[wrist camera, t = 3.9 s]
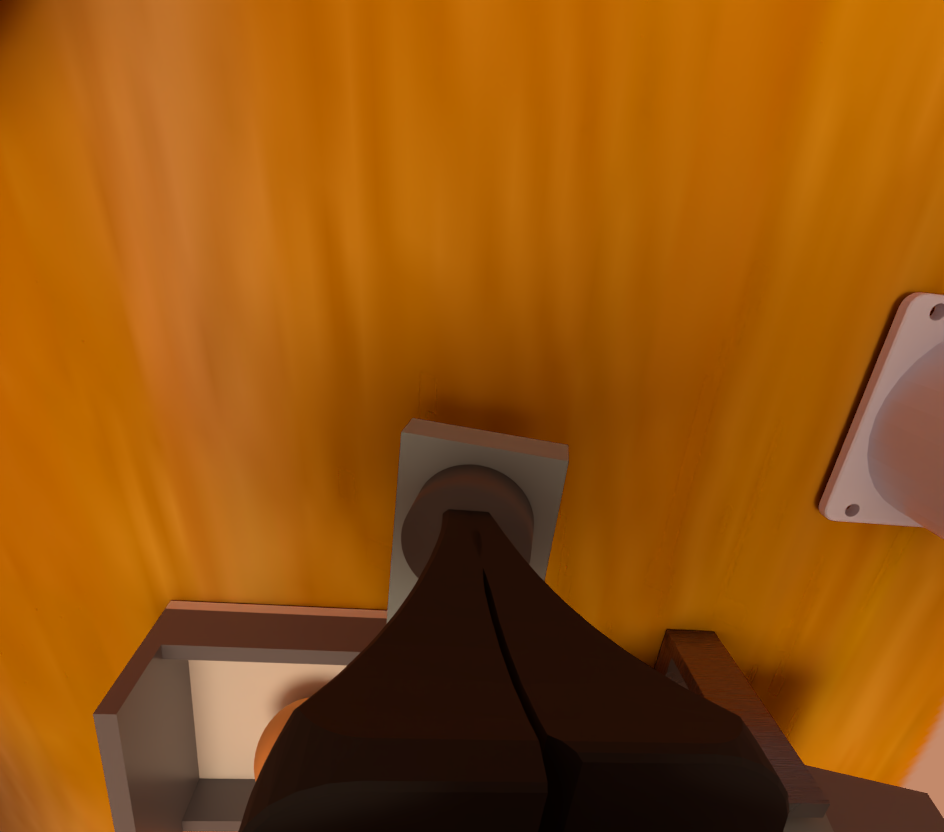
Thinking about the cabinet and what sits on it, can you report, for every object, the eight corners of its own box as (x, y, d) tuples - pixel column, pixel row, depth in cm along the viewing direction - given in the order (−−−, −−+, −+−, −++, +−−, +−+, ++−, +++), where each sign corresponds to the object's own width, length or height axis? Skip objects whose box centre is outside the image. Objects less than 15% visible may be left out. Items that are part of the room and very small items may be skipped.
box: (534, 617, 20) (561, 725, 16) (501, 782, 23) (516, 908, 19) (170, 600, 18) (92, 713, 14) (189, 778, 22) (130, 913, 17)
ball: (371, 751, 17) (252, 783, 16) (365, 823, 18) (255, 858, 17) (353, 665, 20) (252, 686, 19) (349, 732, 21) (255, 756, 20)
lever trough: (1105, 511, 13) (1323, 622, 9) (853, 910, 19) (925, 1076, 15) (396, 391, 15) (341, 443, 11) (367, 784, 21) (325, 903, 17)
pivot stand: (714, 631, 21) (830, 803, 15) (661, 779, 24) (739, 972, 18) (666, 629, 20) (765, 803, 14) (619, 778, 23) (683, 974, 17)
